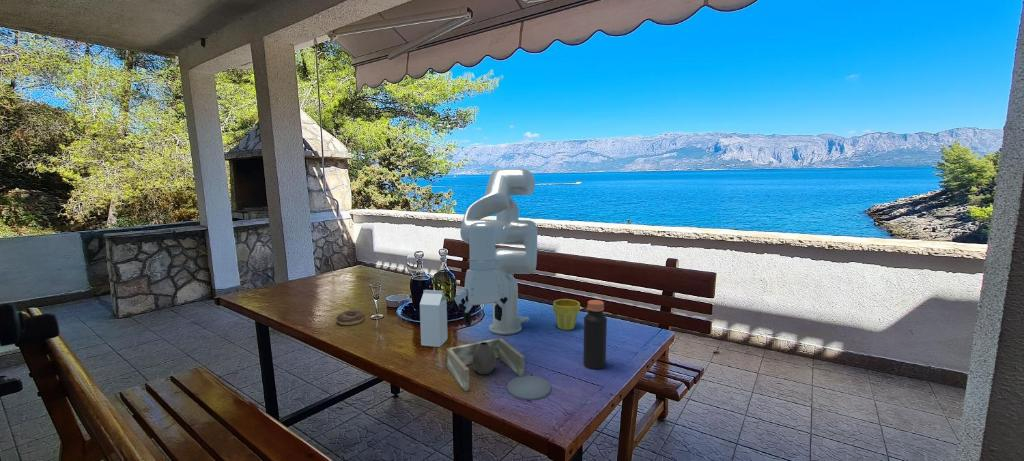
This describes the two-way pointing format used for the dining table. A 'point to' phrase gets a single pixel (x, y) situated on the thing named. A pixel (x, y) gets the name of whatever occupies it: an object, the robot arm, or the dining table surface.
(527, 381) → the mat
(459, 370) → the holder
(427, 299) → the milk carton
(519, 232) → the robot arm
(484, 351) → the vase
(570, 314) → the plant pot
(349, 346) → the dining table surface
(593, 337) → the bottle
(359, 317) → the donut
